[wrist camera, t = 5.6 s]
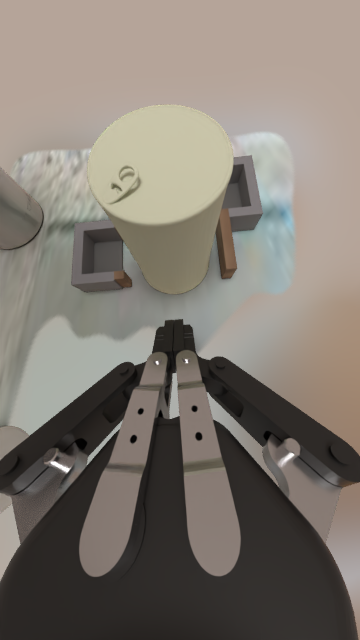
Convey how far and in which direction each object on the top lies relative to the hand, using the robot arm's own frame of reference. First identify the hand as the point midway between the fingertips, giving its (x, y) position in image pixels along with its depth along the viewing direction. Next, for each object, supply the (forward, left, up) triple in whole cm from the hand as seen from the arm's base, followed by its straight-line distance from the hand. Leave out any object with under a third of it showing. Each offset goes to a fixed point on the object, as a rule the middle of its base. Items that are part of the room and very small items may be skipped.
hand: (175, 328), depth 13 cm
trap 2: (-9, +11, -6) cm, 15 cm away
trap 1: (+9, +18, -6) cm, 21 cm away
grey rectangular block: (0, +10, -6) cm, 12 cm away
